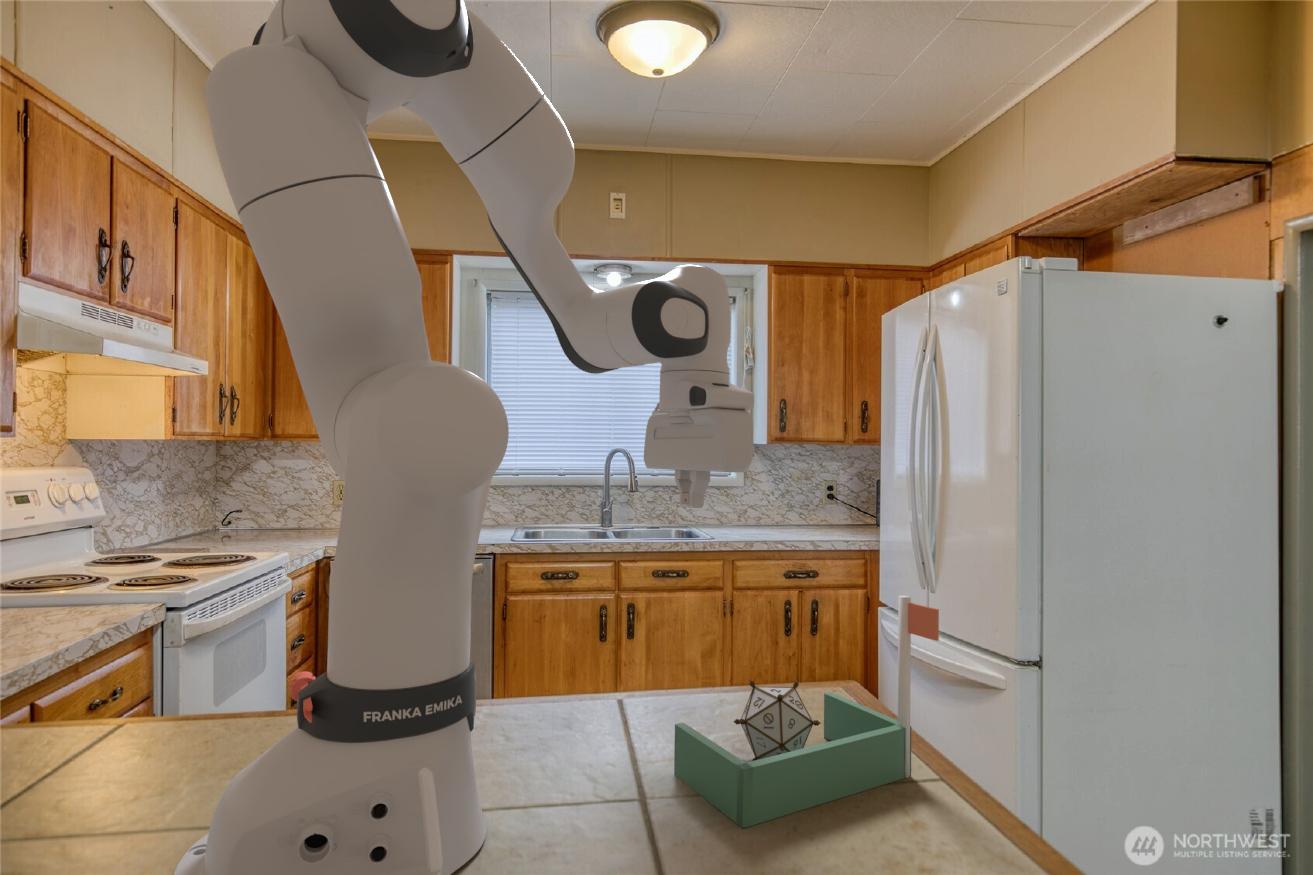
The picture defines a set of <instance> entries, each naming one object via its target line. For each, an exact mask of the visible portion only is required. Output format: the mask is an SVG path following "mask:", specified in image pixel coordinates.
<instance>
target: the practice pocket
mask: <svg viewBox="0 0 1313 875" xmlns="http://www.w3.org/2000/svg"><path fill="white" fill-rule="evenodd" d="M897 599H898V602H897V603H898V604H897V605H898V608H897V609H898V610H897V611H898V612H897V613H898V615H897V616H898V617H897V618H898V619H897V621H898V622H897V623H898V626H897V627H898V629H897V630H898V631H897V632H898V633H897V636H898V637H897V638H898V639H897V719H896V718H892V717H890V716H888V715H885V714H883V713H881V712H878V711H876V710H874V709H871V708H869V707H867V706H864V705H862V704H860V703H857V702H856V701H852V700H850V699H848V698H846V697H843V696H841V695H839V694H836V693H835V692H832V691H830V692H829V691H828V692H824V693H823V738H824V739H826V740H828V741H827V742H826V741H825V742H823V743H819V744H815V745H811V746H808V747H804V748H803V749H799V750H795V751H791V752H787V753H783V754H779V755H775V756H771V757H767V758H763V759H758V760H755V761H753V760H751V761H748V762H745V761H744V760H742V759H740V757H737V756H736V755H735V754H733V753H731V752H730V751H728V750H727V749H725V748H724V747H722V746H721V745H719V744H718V743H715V742H714V741H713V740H711V739H710V738H708V737H707V736H705V734H704V735H703V734H702V733H701V732H699V731H697V730H695V729H694V728H693V727H691V726H689V725H688V724H687V723H685V722H679V723H675V724H674V754H673V755H674V756H673V757H674V758H673V759H674V761H673V762H674V763H673V764H674V766H673V768H674V770H673V775H674V776H675V777H677V778H678V779H679V780H681V781H682V782H683V783H685V785H687V786H689V788H691V789H692V790H693V791H695V792H696V793H697V794H698V795H699V796H701V797H702V798H704V799H705V800H706V801H708V802H709V803H710V804H711V805H713V807H715V808H716V809H717V810H719V811H720V812H721V813H723V814H724V815H725V816H726V817H728V818H729V819H730V820H732V821H733V822H734V823H736V825H738V826H740V828H742V829H745V828H749V827H751V826H755V825H758V824H761V823H764V822H768V821H771V820H775V819H778V818H780V817H784V816H787V815H790V814H794V813H797V812H800V811H803V810H806V809H809V808H810V809H811V808H814V807H816V806H820V805H822V804H826V803H829V802H833V801H835V800H839V799H843V798H845V797H849V796H851V795H855V794H859V793H862V792H866V791H868V790H871V789H875V788H878V787H880V786H881V787H882V786H884V785H887V784H891V783H894V782H897V781H900V780H903V779H909V778H910V777H912V725H911V677H912V676H911V670H912V669H911V668H912V666H911V665H912V664H911V662H912V660H911V657H912V656H911V654H912V653H911V651H912V649H911V645H912V635H915V636H918V637H921V638H925V639H928V640H932V641H936V642H939V637H940V636H939V633H940V629H939V628H940V626H939V624H940V617H939V615H940V614H939V612H940V611H939V608H934V607H929V606H926V605H922V604H917V603H913V602H912V597H911V596H909V595H898V598H897ZM911 634H912V635H911Z"/></svg>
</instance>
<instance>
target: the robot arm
mask: <svg viewBox="0 0 1313 875" xmlns="http://www.w3.org/2000/svg"><path fill="white" fill-rule="evenodd" d="M204 91H205V92H204V94H205V102H206V107H207V108H206V109H207V113H208V119H209V125H210V128H211V133H212V137H213V142H214V146H215V150H216V154H217V157H218V159H219V163H220V168H221V170H222V174H223V177H224V181H225V183H226V186H227V189H228V192H229V195H230V197H231V199H232V202H233V205H234V207H235V210H236V213H237V215H238V217H239V220H240V223H241V226H242V228H243V231H244V233H245V235H246V237H247V240H248V241H249V244H250V247H251V250H252V252H253V254H254V257H255V259H256V262H257V264H258V267H259V269H260V272H261V274H262V276H263V278H264V281H265V284H266V286H267V288H268V291H269V294H270V295H271V298H272V301H273V304H274V306H275V308H276V311H277V313H278V316H279V318H280V322H281V324H282V327H283V330H284V333H285V337H286V340H287V343H288V347H289V350H290V353H291V357H292V361H293V364H294V367H295V370H296V373H297V377H298V380H299V383H300V386H301V389H302V392H303V396H304V398H305V401H306V404H307V408H308V410H309V413H310V416H311V418H312V422H313V424H314V428H315V430H316V434H317V435H318V438H319V442H320V444H321V447H322V449H323V452H324V455H325V457H326V459H327V462H328V463H329V465H330V467H331V469H332V470H333V471H334V472H335V474H336V475H337V476H338V477H339V478H340V479H341V480H343V482H344V487H343V488H344V489H343V498H342V504H341V505H342V506H341V515H340V521H339V528H338V529H339V530H338V536H337V541H336V542H337V543H336V547H335V553H334V560H333V564H332V568H331V570H330V573H329V588H328V589H329V590H328V591H329V592H328V596H329V597H328V622H327V623H328V625H327V626H328V628H327V634H328V635H327V659H326V660H327V661H326V662H327V664H326V667H327V668H326V671H325V672H323V673H322V674H321V675H318V676H317V677H316V676H315V675H313V672H310V671H306V670H305V671H300V672H298V673H295V674H294V675H293V678H291V679H290V681H289V682H290V683H289V684H288V686H289V694H290V697H291V698H292V699H293V700H294V701H296V702H297V703H296V722H297V726H296V727H294V728H293V729H292V730H291V731H289V732H288V733H287V734H285V735H284V736H282V738H281V739H279V740H278V741H276V743H275V744H273V745H272V746H271V747H270V748H268V749H267V750H265V751H264V752H263V753H262V754H261V755H259V756H258V757H257V758H256V759H254V760H253V761H252V762H250V763H249V764H248V765H247V766H245V767H244V768H243V769H242V770H240V771H239V772H238V773H237V774H236V775H235V776H234V777H233V778H232V779H231V780H230V782H229V783H228V784H227V786H226V788H225V789H224V791H223V794H222V795H221V797H220V798H219V802H218V804H217V805H216V808H215V811H214V813H213V817H212V820H211V823H210V827H209V831H208V833H206V834H205V835H203V836H202V837H201V838H200V839H198V840H197V841H196V842H195V843H193V844H192V845H191V846H190V847H189V848H188V850H186V851H185V853H184V854H183V855H182V857H181V858H180V860H179V861H178V864H177V865H176V867H175V869H174V872H173V873H172V875H452V874H453V873H454V872H457V870H459V869H460V868H461V867H462V866H464V865H465V864H467V862H469V860H471V859H472V858H473V857H474V856H475V855H476V854H477V853H478V851H479V850H480V849H481V847H482V846H483V844H484V841H486V840H485V839H486V837H487V830H488V829H487V823H486V819H485V817H484V813H483V810H482V805H481V801H480V796H479V791H478V786H477V778H476V772H475V766H474V756H473V747H472V746H473V745H472V733H471V732H473V730H474V725H475V724H474V723H475V717H476V711H477V677H476V670H475V665H476V664H475V663H473V661H471V660H470V659H471V636H472V635H471V633H472V632H471V631H472V630H471V629H472V592H473V590H472V588H473V587H472V586H473V576H474V566H475V559H476V554H477V548H478V545H479V539H480V534H481V530H482V526H483V520H484V516H485V511H486V507H487V503H488V497H489V494H490V493H489V491H490V487H491V484H492V480H493V477H494V475H495V474H496V472H497V471H498V469H499V467H500V466H501V464H502V462H503V460H504V457H505V454H506V451H507V449H508V443H509V431H510V430H509V421H508V417H507V413H506V410H505V407H504V405H503V402H502V401H501V399H500V398H499V395H497V393H496V392H495V390H494V389H493V388H492V387H491V385H490V384H489V383H488V382H487V381H485V380H483V379H482V378H481V377H479V375H476V374H475V373H473V372H471V371H469V370H466V369H464V368H461V367H460V366H457V365H454V364H450V363H447V362H443V361H438V360H432V356H431V353H430V352H431V350H430V345H429V341H428V336H427V335H428V334H427V330H426V324H425V323H426V322H425V318H424V311H423V310H424V309H423V302H422V301H423V300H422V299H423V298H422V295H423V284H422V278H421V277H422V276H421V274H420V272H419V269H418V265H417V262H416V260H415V257H414V255H413V252H412V249H411V246H410V244H409V241H408V238H407V236H406V233H405V230H404V228H403V225H402V222H401V219H400V216H399V214H398V211H397V209H396V206H395V204H394V201H393V197H392V194H391V192H390V190H389V187H388V184H387V182H386V179H385V177H384V173H383V171H382V169H381V166H380V163H379V160H378V159H377V156H376V154H375V152H374V150H373V147H372V145H371V143H370V140H369V135H368V125H370V124H372V123H374V122H375V121H377V120H378V119H380V118H382V117H383V116H385V115H387V114H388V113H390V112H392V111H395V110H396V109H399V108H400V107H402V108H404V109H406V110H409V111H410V112H412V113H414V114H416V115H417V116H419V118H421V119H423V121H425V122H426V123H427V125H428V126H429V128H430V129H431V130H432V132H433V133H434V134H435V136H436V138H437V139H438V141H439V142H440V144H441V145H442V146H443V148H444V149H445V150H446V151H447V153H448V154H449V156H450V157H451V158H452V159H453V161H454V162H455V163H456V164H457V167H458V168H460V169H461V171H462V172H463V174H464V175H465V176H466V178H467V179H468V180H469V182H470V183H471V185H472V186H473V188H474V189H475V190H476V192H477V194H478V195H479V197H480V200H481V201H482V203H483V205H484V208H485V209H486V213H487V214H486V215H487V219H488V221H489V222H488V223H489V224H490V225H489V226H490V228H491V229H492V231H493V233H494V236H495V237H496V239H497V241H498V242H499V244H500V246H501V248H502V249H503V250H504V252H505V254H506V255H507V256H508V258H509V260H510V261H511V263H512V264H513V265H514V267H515V269H516V270H517V272H518V273H519V275H520V277H521V279H523V281H524V282H525V283H526V285H527V287H528V288H529V289H530V291H531V292H532V294H533V295H534V297H535V298H536V300H537V301H538V303H539V304H540V305H541V307H542V308H543V310H544V312H545V314H546V315H547V317H548V319H549V321H550V323H551V325H552V327H553V329H554V330H553V331H554V332H555V334H556V337H557V338H556V339H557V340H558V343H559V345H560V347H561V350H562V351H563V353H564V355H565V356H566V358H567V359H568V361H570V362H571V364H572V365H573V366H575V367H576V368H577V369H579V370H581V371H583V372H585V373H587V374H593V375H596V374H604V373H608V372H611V371H615V370H619V369H622V368H630V367H638V366H644V365H648V364H649V365H652V364H658V363H659V364H661V366H660V371H659V401H658V403H657V404H656V407H654V410H652V412H651V416H649V418H648V420H647V425H646V430H645V438H644V449H643V462H644V465H645V467H646V468H647V469H652V470H653V469H654V470H671V471H672V470H674V481H675V484H676V486H677V487H676V488H677V490H678V492H679V505H680V507H685V508H691V509H692V508H693V509H701V508H703V507H704V502H705V494H706V492H707V489H708V486H709V485H710V484H709V483H710V481H711V472H716V473H717V472H720V473H746V472H747V471H748V470H749V468H750V466H751V464H752V461H753V453H754V452H753V451H754V421H753V418H752V415H751V413H750V410H753V408H754V406H755V395H754V393H753V392H752V391H750V390H747V389H746V388H742V387H740V386H737V385H735V384H733V383H730V375H731V374H730V368H729V365H728V351H729V349H730V348H729V347H730V344H731V337H732V336H731V334H732V331H731V330H732V328H731V327H732V325H731V324H732V323H731V322H732V318H731V304H730V302H731V300H730V295H729V289H728V286H727V283H726V279H725V277H724V276H723V275H722V274H721V273H720V272H718V271H717V270H715V269H713V268H711V267H708V266H702V265H697V264H682V265H678V266H674V267H673V268H672V269H670V270H669V272H668V273H666V274H665V275H662V276H660V277H656V278H654V279H649V280H643V281H639V282H635V283H630V284H626V285H624V286H621V287H616V288H613V289H608V290H600V289H597V288H594V287H592V286H591V285H589V284H588V283H586V281H585V279H584V278H583V277H582V275H581V273H580V272H579V270H578V269H577V267H576V266H575V263H574V262H573V261H572V258H571V257H570V255H569V254H568V252H567V251H566V249H565V248H564V246H563V244H562V242H561V241H560V239H559V237H558V235H557V233H556V230H555V225H554V216H555V213H556V211H557V208H558V206H559V205H560V203H561V202H562V201H563V199H564V197H565V196H566V194H567V192H568V190H569V188H570V186H571V183H572V180H573V176H574V172H575V163H576V152H575V146H574V143H573V140H572V138H571V135H570V133H569V131H568V129H567V126H566V125H565V122H564V120H563V119H562V118H561V116H560V114H559V113H558V111H557V110H556V109H555V108H554V106H553V104H552V103H551V102H550V100H549V99H548V98H547V96H546V95H545V93H544V92H543V90H542V89H541V88H540V86H539V85H538V83H537V82H536V81H535V79H534V78H533V76H532V75H531V73H529V71H528V69H526V67H525V66H524V65H523V63H522V62H521V61H520V60H519V59H518V58H517V56H516V55H515V54H514V53H513V52H512V50H511V49H510V48H509V46H507V45H506V43H504V42H503V40H502V39H501V38H500V37H499V36H498V35H497V34H496V33H495V32H494V31H493V30H492V29H491V27H490V26H488V25H487V23H486V22H484V20H482V19H481V17H479V15H477V14H475V13H474V12H473V11H471V10H468V9H467V8H466V6H465V1H464V0H277V2H276V4H275V5H274V7H273V9H272V11H271V12H270V14H269V16H268V19H267V21H265V22H264V23H263V24H262V25H261V26H260V28H258V30H257V32H256V33H255V35H254V38H253V40H252V45H247V46H245V47H241V48H238V49H236V50H233V52H232V51H231V53H229V54H227V55H225V56H224V57H223V58H221V59H220V60H218V62H217V63H216V64H215V65H214V66H213V67H212V69H211V71H210V72H209V74H208V76H207V80H206V83H205V90H204Z"/></svg>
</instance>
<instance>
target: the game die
mask: <svg viewBox="0 0 1313 875" xmlns="http://www.w3.org/2000/svg"><path fill="white" fill-rule="evenodd" d="M749 685H750V687H751V688H752V690H751V692H750V694H749V698H748V700H747V703H746V705H745V707H744V710H743V712H742V715H741V718H740V719H739V718H736V719H735V720H734V721H733V723H734V725H740V726H741V727H742V729H743V732H744V735H745V736H746V739H747V741H748V744H749V746H750V748H751V750H752V753H753V755H754V758H752V761H755V760H759V759H763V758H767V757H771V756H775V755H779V754H783V753H787V752H791V751H795V750H799V749H803V748H805V745H806V743H807V740H808V737H809V735H810V732H811V730H812V728H813V726H815V727H816V726H817V727H818V726H819V725H820V724H821V723H822V722H820V721H819V720H818V719H816V720H815V719H814V720H813V719H812V717H811V715H810V714H809V711H808V709H807V707H806V706H805V704H804V702H803V700H802V698H801V696H800V695H799V692H798V690H797V688H798V686H800V683H799V680H796V681H794V682H793V684H792V686H756V684H755V682H754V681H753V680H751V679H749Z"/></svg>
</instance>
